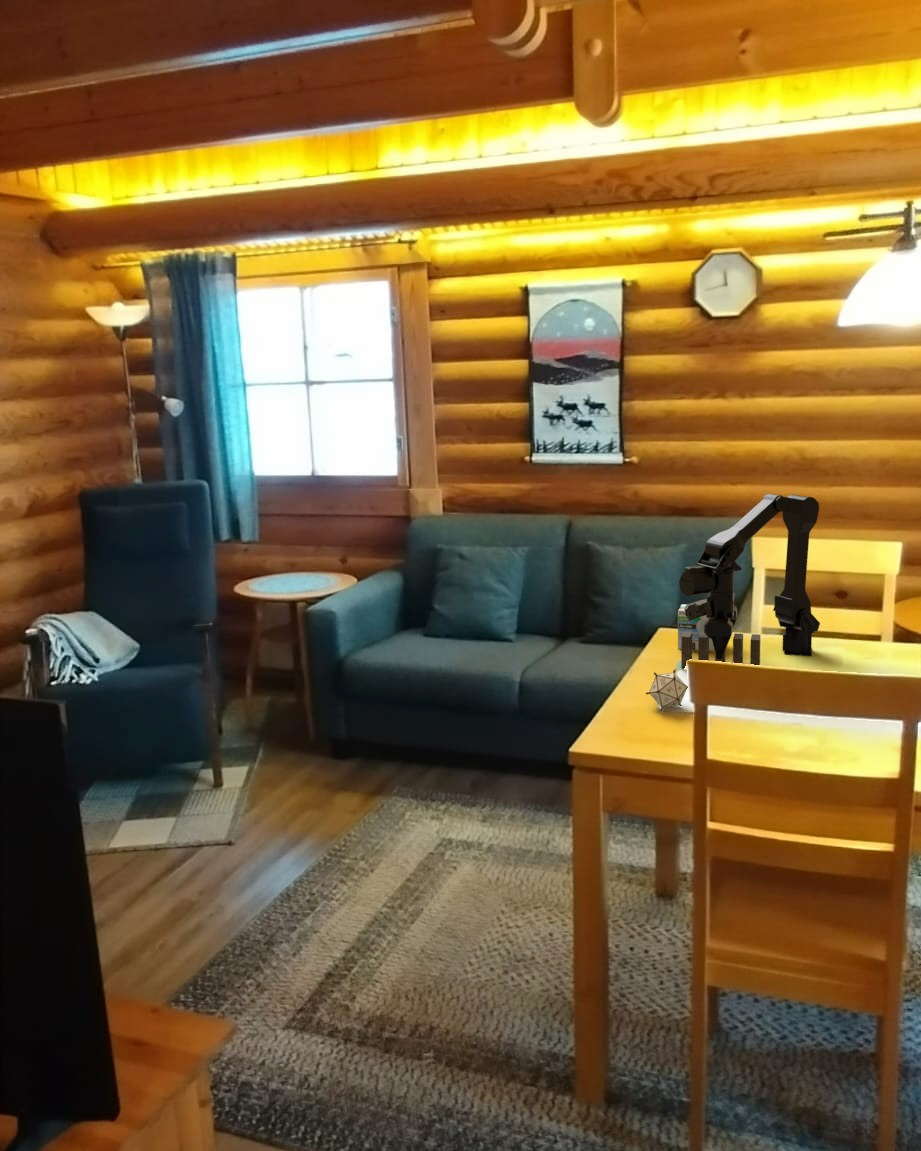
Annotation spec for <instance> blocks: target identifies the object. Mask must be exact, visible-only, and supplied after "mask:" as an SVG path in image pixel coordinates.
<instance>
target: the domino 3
mask: <svg viewBox="0 0 921 1151" xmlns="http://www.w3.org/2000/svg"><path fill="white" fill-rule="evenodd" d="M726 651H727V648H726V649H725V652H724V654H723V657H722V659H717V658H716V654H715V653H714V654H715V656H714V657H715V659H714V660H715V661H722V662H726V660H727V659H726V656H727V655H726V654H727V652H726ZM715 661H714V662H715Z"/></svg>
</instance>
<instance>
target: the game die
mask: <svg viewBox="0 0 921 1151" xmlns="http://www.w3.org/2000/svg"><path fill="white" fill-rule="evenodd" d="M653 675H654V676H655V677H654V679H653V682H652V685H651V687H650V690H649V692H648V691H647V692H645V695H650V696H651V697H652V698H653V700H654V701H655V702H656V703H657V704H658V705H659V706H660V712H663V710H664V708H670V707H676V706H679V707H680V706H682V707H683V704H682V702H683V700H684V697H685V694H686V692H687V689H689V688H688V686H689V685H686V683H685V682H684V681H683V680H682V679H681V677H679V676H678V675H677V673H676V670H675V669H673V671H672V672H669V673H668V672H667V673H662V674H657V672H653Z"/></svg>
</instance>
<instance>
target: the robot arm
mask: <svg viewBox="0 0 921 1151" xmlns="http://www.w3.org/2000/svg"><path fill="white" fill-rule="evenodd" d="M819 512H820V503H819V501H818V500H817V499H816V498H815V497H813V496H807V495H799V494H790V495H788V496H783V495H781V494H774V493H767V494H766V495H764V496H763V497H762V500H761V501H760V502H759V503H757V504H756V505H755V506H754V507H753V508H752V509H751V510H749V511H748V512H747V513H746V514H745V515H744V516H743V517H742V518H741V519H740V520H738V521H737V523H735V524H734V525H733V526H732V527H730V528H728V529H725V530H723V531H720V532H718V533H716V534H714V535H713V536H712V537H709V538H708V540H707V541H705V542H706V543H705V544H704V545H705V547H704V549H703V550H702V552H701V553H700V555H699V557H698V559H697V560H696V562H695V566H685V567H684V572H683V573H682V574H681V575H680V578H679V580H678V581H679V582H678V586H679V589H680V591H681V593H682V594H683V595H684V596H686V597H692V596H697V595H698V596H700V595H705V594H707V596H706V598H705V599H700V600H697V601H694V602H692V603H691V602H690V603H687V604H686V606H685V608H684V610H685V615H686V616H687V618H688V621H692V620H694V619H695V618H699V617H702V616H705V615H706V618H709V619H708V620H707V621H706V622H705V625H704V633H705V634H706V636H709V637H710V638H711V639H712V641H713V645H714V650H715V651H714V654H716V658H717V659H722V657H723V654H724V652H725V649H726V650H727V647H728V645H729V642H730V639H731V637H732V635H733V629H734V626H735V624H736V621H737V618H738V608H737V607H736V606H735V604H734V603H735V602H734V601H735V592H734V591H735V572H738V571H739V572H740V571H742V566H740V565H739V564H738V563H737V562H736V561H737V560H738V559H739V557H740V556H741V555H742V553H743V552H744V551H745V548H746V544H747V543H748V541H749V540H750V539H752V538H753V537H754V536H755V535H756V534H757V533H759V531H761V529H763V528H764V526H766V525H767V524H768V523H769V522H771V520H772V519H773V518H775V517H776V516H777V515H778V514H779V513H782V520H783V523H784V525H785V527H786V529H787V541H786V542H787V545H786V559H785V571H784V572H785V573H784V587H783V589H782V591H781V592H780V594H779V595H777V594H776V595H774V598H773V599H774V607H773V609H772V611H773V612H774V615H775V618H776V619H777V621H778V624H779V627H781V628H785V632H783V633H782V652H784V653H783V654H784V656H785V655H786V656H802V657H803V656H804V657H805V656H806V657H812V656H813V655H812V654H813V648H812V639H813V638H812V637H813V636H812V635H813V634H814V633H815V632H818V631H819V629H820V625H821V622H820V621H819V619H817V618H816V617H815V616H814V614H812V604H811V600H810V598H809V596H808V593H807V591H806V583H807V582H806V581H807V572H808V557H809V556H808V555H809V542H810V533H811V531H812V529H813V528H814V527H815V525H816V524H817V522H818V516H819Z"/></svg>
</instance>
